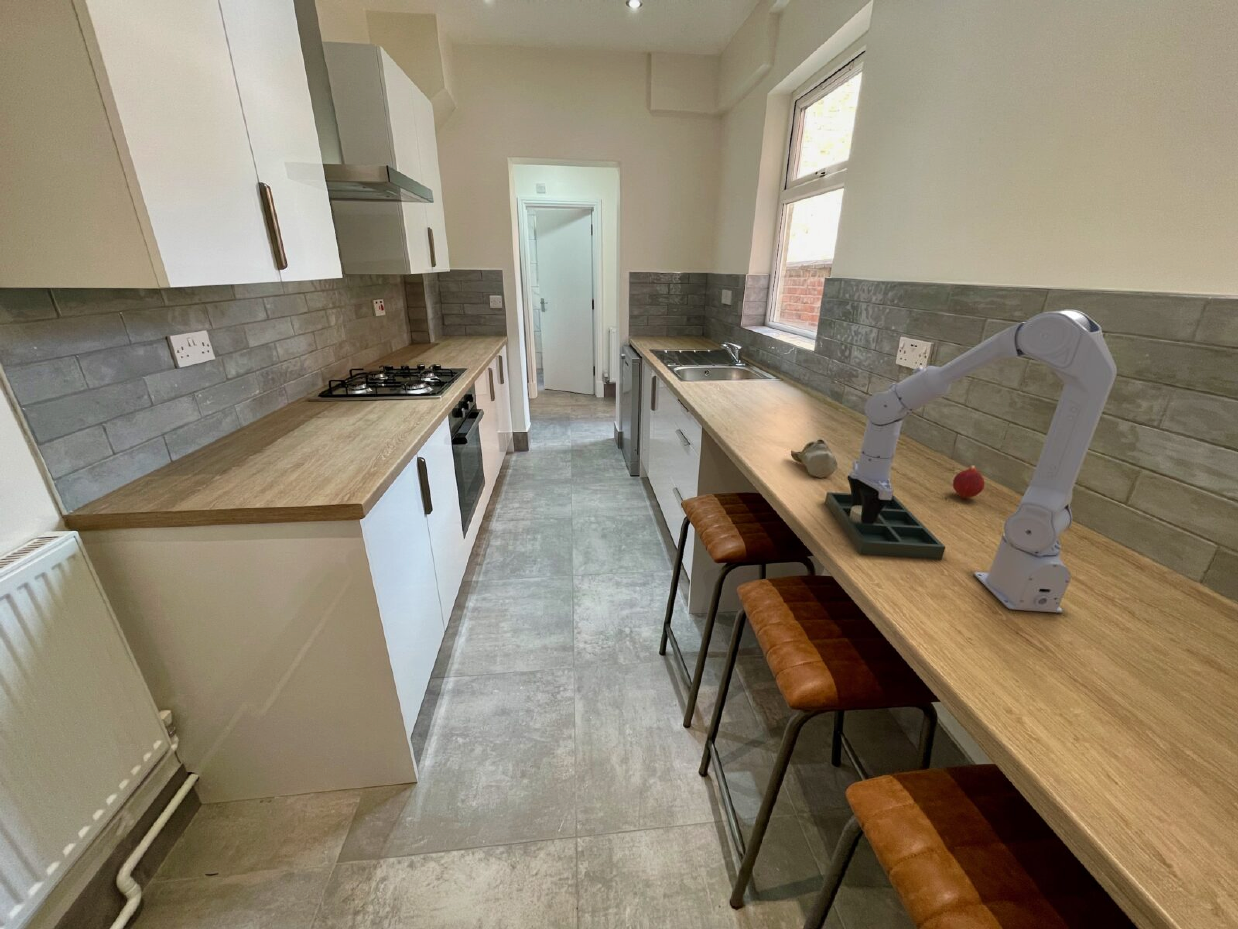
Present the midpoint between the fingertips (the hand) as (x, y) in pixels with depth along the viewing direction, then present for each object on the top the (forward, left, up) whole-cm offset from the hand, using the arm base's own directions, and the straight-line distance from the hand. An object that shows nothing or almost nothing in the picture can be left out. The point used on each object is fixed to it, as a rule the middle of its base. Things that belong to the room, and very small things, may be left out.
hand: (862, 516), depth 98 cm
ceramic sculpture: (+30, +1, -3) cm, 30 cm away
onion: (+17, -29, -3) cm, 34 cm away
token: (0, 0, -2) cm, 2 cm away
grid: (0, -3, -2) cm, 4 cm away
